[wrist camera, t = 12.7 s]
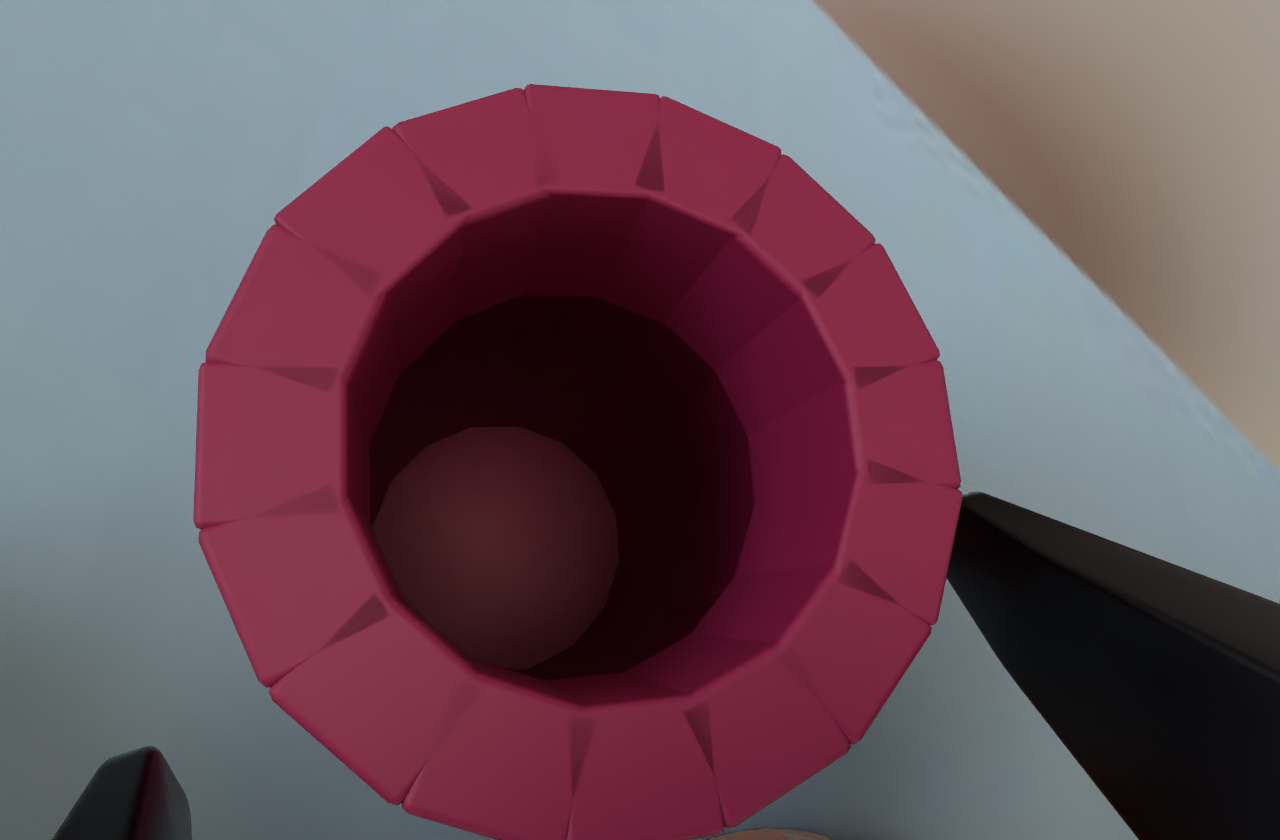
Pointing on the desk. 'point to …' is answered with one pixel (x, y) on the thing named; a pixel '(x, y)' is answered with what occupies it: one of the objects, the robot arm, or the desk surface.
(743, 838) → the pot
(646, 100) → the crimson hollow cylinder
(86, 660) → the desk surface
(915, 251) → the desk surface
